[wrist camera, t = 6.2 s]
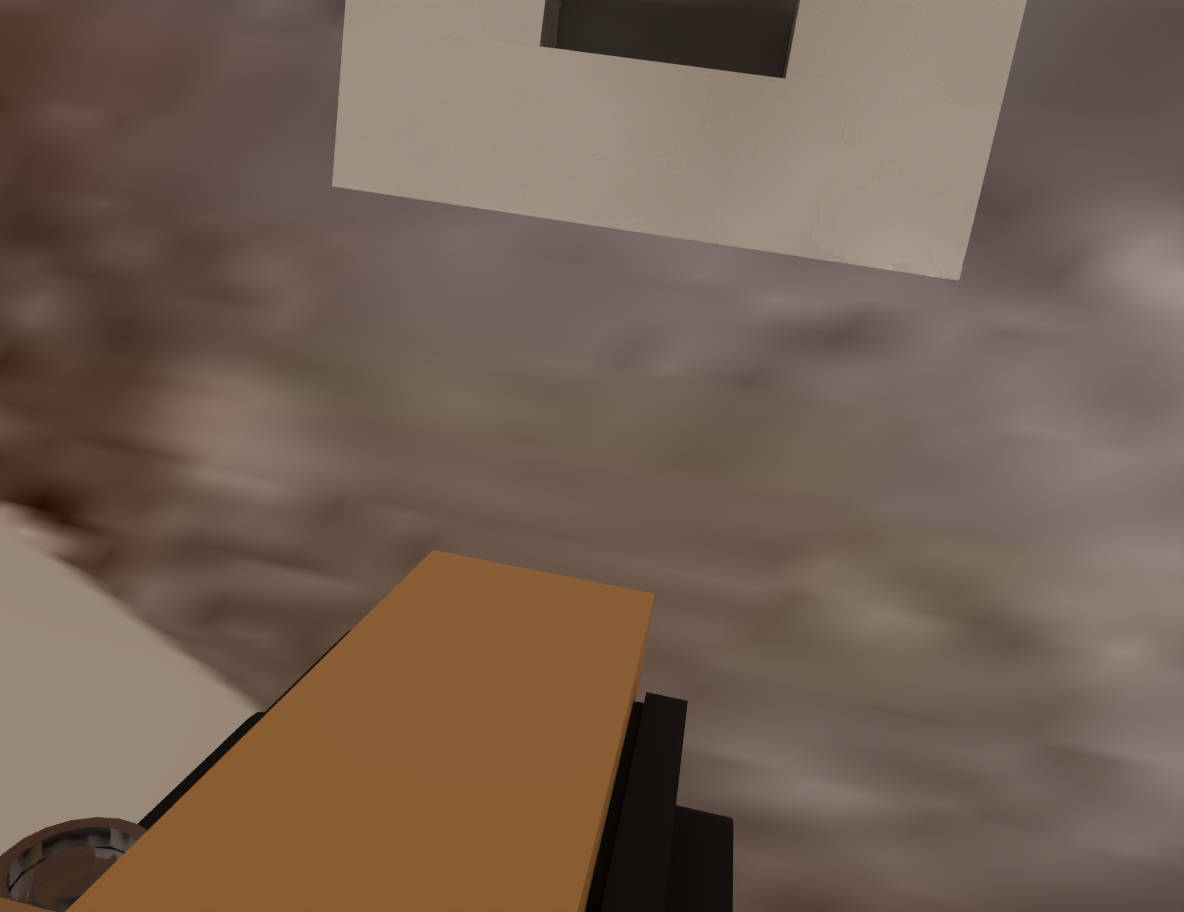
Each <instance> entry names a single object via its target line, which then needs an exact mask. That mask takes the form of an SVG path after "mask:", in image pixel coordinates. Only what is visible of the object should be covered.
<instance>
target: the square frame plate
mask: <svg viewBox="0 0 1184 912" xmlns="http://www.w3.org/2000/svg"><path fill="white" fill-rule="evenodd" d="M1026 1H1027V0H797V2H796V8H795V13H794V19H793V24H792V30H791V35H790V40H789V46H788V51H787V57H786V62H785V67H784V73H783V78H776V77H768V76H761V75H753V74H746V73H738V72H730V71H723V70H715V69H708V68H700V67H692V66H685V65H677V64H670V63H662V62H654V61H647V60H639V59H632V58H624V57H616V56H609V55H601V54H594V53H586V52H578V51H571V50H563V49H556V42H557V34H558V27H559V19H560V11H561V3H562V0H346V4H345V18H344V32H343V45H342V59H341V73H340V86H339V100H338V114H337V128H336V141H335V155H334V169H333V182H332V186H334V187H340V188H346V189H352V190H358V191H364V192H371V193H378V194H384V195H391V196H398V197H404V198H411V199H418V200H424V201H431V202H438V203H444V204H451V205H458V206H464V207H471V208H477V209H484V210H491V211H497V212H504V213H511V214H517V215H524V216H531V217H537V218H544V219H551V220H557V221H564V222H571V223H577V224H584V225H590V226H597V227H604V228H610V229H617V230H624V231H630V232H637V233H644V234H650V235H657V236H664V237H670V238H677V239H684V240H690V241H697V242H704V243H710V244H717V245H723V246H730V247H737V248H743V249H750V250H757V251H763V252H770V253H777V254H783V255H790V256H797V257H803V258H810V259H817V260H823V261H830V262H836V263H843V264H850V265H856V266H863V267H870V268H876V269H883V270H890V271H896V272H903V273H910V274H916V275H923V276H930V277H936V278H944V279H952V280H959V278H960V274H961V270H962V266H963V262H964V258H965V254H966V250H967V245H968V241H969V237H970V233H971V229H972V225H973V221H974V216H975V212H976V208H977V204H978V200H979V196H980V192H981V187H982V183H983V179H984V175H985V171H986V167H987V163H988V159H989V154H990V150H991V146H992V142H993V138H994V134H995V130H996V125H997V121H998V117H999V113H1000V109H1001V105H1002V101H1003V97H1004V92H1005V88H1006V84H1007V80H1008V76H1009V72H1010V68H1011V63H1012V59H1013V55H1014V51H1015V47H1016V43H1017V39H1018V35H1019V30H1020V26H1021V22H1022V18H1023V14H1024V10H1025V6H1026Z"/></svg>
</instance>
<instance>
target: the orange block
mask: <svg viewBox="0 0 1184 912" xmlns="http://www.w3.org/2000/svg"><path fill="white" fill-rule="evenodd" d="M654 596H655V594H653V593H648V592H643V591H638V590H633V589H628V588H623V587H618V586H613V585H608V584H603V583H598V582H593V581H588V580H583V579H578V578H572V577H567V576H562V575H557V574H552V573H547V572H542V571H537V570H532V569H527V568H522V567H517V566H512V565H507V564H502V563H497V562H492V561H487V560H482V559H477V558H472V557H467V556H461V555H456V554H451V553H446V552H441V551H436V550H433V551H432V552H431V553H430V554H429V555H428V556H427V557H426V558H425V559H424V560H422V561H421V562H420V563H419V564H418V565H417V566H416V567H415V568H414V569H413V570H412V571H411V572H410V573H409V574H408V575H407V576H406V577H405V578H404V579H403V580H402V581H401V582H400V583H399V584H398V585H397V586H396V587H395V588H394V589H393V590H392V591H391V592H390V593H389V594H388V595H387V596H386V597H385V598H384V599H383V600H382V601H381V602H380V603H379V604H378V605H377V606H376V607H375V608H374V609H373V610H372V611H371V612H370V613H369V614H368V615H367V616H366V617H364V618H363V619H362V620H361V621H360V622H359V623H358V624H357V625H356V626H355V627H354V628H353V629H352V630H351V631H350V632H349V633H348V634H347V635H346V636H345V637H344V638H343V639H342V640H341V641H340V642H339V643H338V644H337V645H336V646H335V647H334V648H333V649H332V650H331V651H330V652H329V653H328V654H327V655H326V656H325V657H324V658H323V659H322V660H321V661H320V662H319V663H318V664H317V665H316V666H315V667H314V668H313V669H312V670H311V671H310V672H309V673H308V674H307V675H305V676H304V677H303V678H302V679H301V680H300V681H299V682H298V683H297V684H296V685H295V686H294V687H293V688H292V689H291V690H290V691H289V692H288V693H287V694H286V695H285V696H284V697H283V698H282V699H281V700H280V701H279V702H278V703H277V704H276V705H275V706H274V707H273V708H272V709H271V710H270V711H269V712H268V713H267V714H266V715H265V716H264V717H263V718H262V719H261V720H260V721H259V722H258V723H257V724H256V725H255V726H254V727H253V728H252V729H251V730H250V731H249V732H248V733H246V734H245V735H244V736H243V737H242V738H241V739H240V740H239V741H238V742H237V743H236V744H235V745H234V746H233V747H232V748H231V749H230V750H229V751H228V752H227V753H226V754H225V755H224V756H223V757H222V758H221V759H220V760H219V761H218V762H217V763H216V764H215V765H214V766H213V767H212V768H211V769H210V770H209V771H208V772H207V773H206V774H205V775H204V776H203V777H202V778H201V779H200V780H199V781H198V782H197V783H196V784H195V785H194V786H193V787H192V788H191V789H190V790H189V791H187V792H186V793H185V794H184V795H183V796H182V797H181V798H180V799H179V800H178V801H177V802H176V803H175V804H174V805H173V806H172V807H171V808H170V809H169V810H168V811H167V812H166V813H165V814H164V815H163V816H162V817H161V818H160V819H159V820H158V821H157V822H156V823H155V824H154V825H153V826H152V827H151V828H150V829H149V830H148V831H147V832H146V833H145V834H144V835H143V836H142V837H141V838H140V839H139V840H138V841H137V842H136V843H135V844H134V845H133V846H132V847H131V848H129V849H128V850H127V851H126V852H125V853H124V854H123V855H122V856H121V857H120V858H119V859H118V860H117V861H116V862H115V863H114V864H113V865H112V866H111V867H110V868H109V869H108V870H107V871H106V872H105V873H104V874H103V875H102V876H101V877H100V878H99V879H98V880H97V881H96V882H95V883H94V884H93V885H92V886H91V887H90V888H89V889H88V890H87V891H86V892H85V893H84V894H83V895H82V896H81V897H80V898H79V899H78V900H77V901H76V902H75V903H74V904H73V905H72V906H70V907H69V908H68V909H67V910H66V911H65V912H585V910H586V905H587V900H588V896H589V891H590V886H591V882H592V878H593V873H594V869H595V865H596V861H597V856H598V852H599V848H600V843H601V839H602V835H603V831H604V826H605V822H606V818H607V813H608V809H609V805H610V801H611V796H612V792H613V788H614V783H615V779H616V775H617V771H618V766H619V762H620V758H621V753H622V749H623V745H624V740H625V736H626V732H627V728H628V723H629V719H630V715H631V710H632V706H633V702H634V701H636V699H637V693H638V687H639V682H640V676H641V670H642V664H643V659H644V653H645V647H646V642H647V636H648V630H649V624H650V619H651V613H652V607H653V601H654ZM0 912H55V911H51V910H47V909H43V908H39V907H35V906H32V905H28V904H24V903H20V902H16V901H13V900H9V899H5V898H1V897H0Z"/></svg>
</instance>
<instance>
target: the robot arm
mask: <svg viewBox="0 0 1184 912" xmlns="http://www.w3.org/2000/svg"><path fill="white" fill-rule="evenodd" d="M350 631H351V630H350ZM350 631H348V632H347V633H346V634H345V635H344V636H343V637H342V638H341V639H340V640H339V641H338V642H336V643H335V644H334V645H333V646H332V647H331V648H330V649H329V650H328V651H327V652H326V653H325V654H324V655H323V656H322V657H321V658H320V659H319V660H318V661H317V662H316V663H315V664H314V665H313V666H312V667H311V668H310V669H309V670H308V671H307V672H306V673H305V674H304V675H303V676H302V677H301V678H299V679H298V680H297V681H296V682H295V683H294V684H293V685H292V686H291V687H290V688H289V689H288V690H287V691H286V692H285V693H284V694H283V695H282V696H281V697H280V698H279V699H278V700H277V701H276V702H275V703H274V704H273V705H272V706H271V707H270V708H269V709H268V710H267V711H266V712H257V713H255V714H254V715H252V716H251V717H250V718H248V719H247V720H246V721H245V722H244V723H243V724H242V725H241V726H240V727H239V728H238V729H237V730H236V731H235V732H233V733H232V734H231V735H230V736H229V737H228V738H227V739H226V740H225V741H224V742H223V743H222V744H221V745H220V746H219V747H218V748H217V749H216V750H215V751H214V752H213V753H212V754H210V755H209V756H208V757H207V758H206V759H205V760H204V761H203V762H202V763H201V764H200V765H199V766H198V767H197V768H196V769H195V770H194V771H193V772H191V773H190V774H189V775H188V776H187V777H186V778H185V779H184V780H183V781H182V782H181V783H180V784H179V785H178V786H177V787H176V788H175V789H174V790H173V791H172V792H170V793H169V794H168V795H167V796H166V797H165V798H164V799H163V800H162V801H161V802H160V803H159V804H158V805H157V806H156V807H155V808H154V809H153V810H152V811H151V812H150V813H148V814H147V816H145V817H144V818H143V819H142V820H141V821H140V822H139V823H138V824H136V823H133V822H129V821H126V820H122V819H118V818H102V817H93V818H86V819H77V820H70V821H67V822H63V823H60V824H56V825H53V826H50V827H46V828H44V829H42V830H40V831H38V832H36V833H34V834H32V835H30V836H27V837H25V838H23V839H22V840H21V841H19V842H18V843H16V844H15V845H14V846H13V847H11V848H10V849H8V850H7V851H6V852H4V853H3V854H2V855H1V856H0V897H1V898H5V899H9V900H13V901H16V902H20V903H24V904H28V905H32V906H35V907H39V908H43V909H47V910H51V911H55V912H65V911H66V910H67V909H68V908H69V907H70V906H72V905H73V904H74V903H75V902H76V901H77V900H78V899H79V898H80V897H81V896H82V895H83V894H84V893H85V892H86V891H87V890H88V889H89V888H90V887H91V886H92V885H93V884H94V883H95V882H96V881H97V880H98V879H99V878H100V877H101V876H102V875H103V874H104V873H105V872H106V871H107V870H108V869H109V868H110V867H111V866H112V865H113V864H114V863H115V862H116V861H117V860H118V859H119V858H120V857H121V856H122V855H123V854H124V853H125V852H126V851H127V850H128V849H129V848H131V847H132V846H133V845H134V844H135V843H136V842H137V841H138V840H139V839H140V838H141V837H142V836H143V835H144V834H145V833H146V832H147V831H148V830H149V829H150V828H151V827H152V826H153V825H154V824H155V823H156V822H157V821H158V820H159V819H160V818H161V817H162V816H163V815H164V814H165V813H166V812H167V811H168V810H169V809H170V808H171V807H172V806H173V805H174V804H175V803H176V802H177V801H178V800H179V799H180V798H181V797H182V796H183V795H184V794H185V793H186V792H187V791H189V790H190V789H191V788H192V787H193V786H194V785H195V784H196V783H197V782H198V781H199V780H200V779H201V778H202V777H203V776H204V775H205V774H206V773H207V772H208V771H209V770H210V769H211V768H212V767H213V766H214V765H215V764H216V763H217V762H218V761H219V760H220V759H221V758H222V757H223V756H224V755H225V754H226V753H227V752H228V751H229V750H230V749H231V748H232V747H233V746H234V745H235V744H236V743H237V742H238V741H239V740H240V739H241V738H242V737H243V736H244V735H245V734H246V733H248V732H249V731H250V730H251V729H252V728H253V727H254V726H255V725H256V724H257V723H258V722H259V721H260V720H261V719H262V718H263V717H264V716H265V715H266V714H267V713H268V712H269V711H270V710H271V709H272V708H273V707H274V706H275V705H276V704H277V703H278V702H279V701H280V700H281V699H282V698H283V697H284V696H285V695H286V694H287V693H288V692H289V691H290V690H291V689H292V688H293V687H294V686H295V685H296V684H297V683H298V682H299V681H300V680H301V679H302V678H303V677H304V676H305V675H307V674H308V673H309V672H310V671H311V670H312V669H313V668H314V667H315V666H316V665H317V664H318V663H319V662H320V661H321V660H322V659H323V658H324V657H325V656H326V655H327V654H328V653H329V652H330V651H331V650H332V649H333V648H334V647H335V646H336V645H337V644H338V643H339V642H340V641H341V640H342V639H343V638H344V637H345V636H346V635H347V634H348V633H349V632H350ZM687 702H688V701H686V700H681V699H676V698H672V697H667V696H662V695H658V694H653V693H648V692H646V696H645V701H644V703H641V702H636V701H634V702H633V706H632V710H631V715H630V719H629V723H628V728H627V732H626V736H625V740H624V745H623V749H622V753H621V758H620V762H619V766H618V771H617V775H616V779H615V783H614V788H613V792H612V796H611V801H610V805H609V809H608V813H607V818H606V822H605V826H604V831H603V835H602V839H601V843H600V848H599V852H598V856H597V861H596V865H595V869H594V873H593V878H592V882H591V886H590V891H589V896H588V900H587V905H586V910H585V912H733V820H732V818H730V817H725V816H721V815H717V814H712V813H708V812H703V811H699V810H694V809H690V808H686V807H681V806H677V805H676V799H677V790H678V782H679V773H680V764H681V755H682V746H683V738H684V729H685V720H686V711H687Z"/></svg>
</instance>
